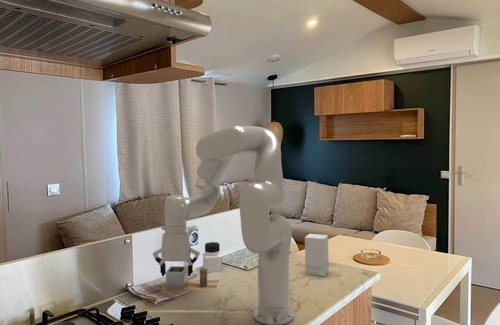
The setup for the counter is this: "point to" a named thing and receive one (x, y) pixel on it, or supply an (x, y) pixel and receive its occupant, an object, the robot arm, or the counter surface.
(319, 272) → the skincare box
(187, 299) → the counter surface
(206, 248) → the medicine bottle
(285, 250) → the robot arm
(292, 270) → the counter surface
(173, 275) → the grey open box
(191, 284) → the peg board
